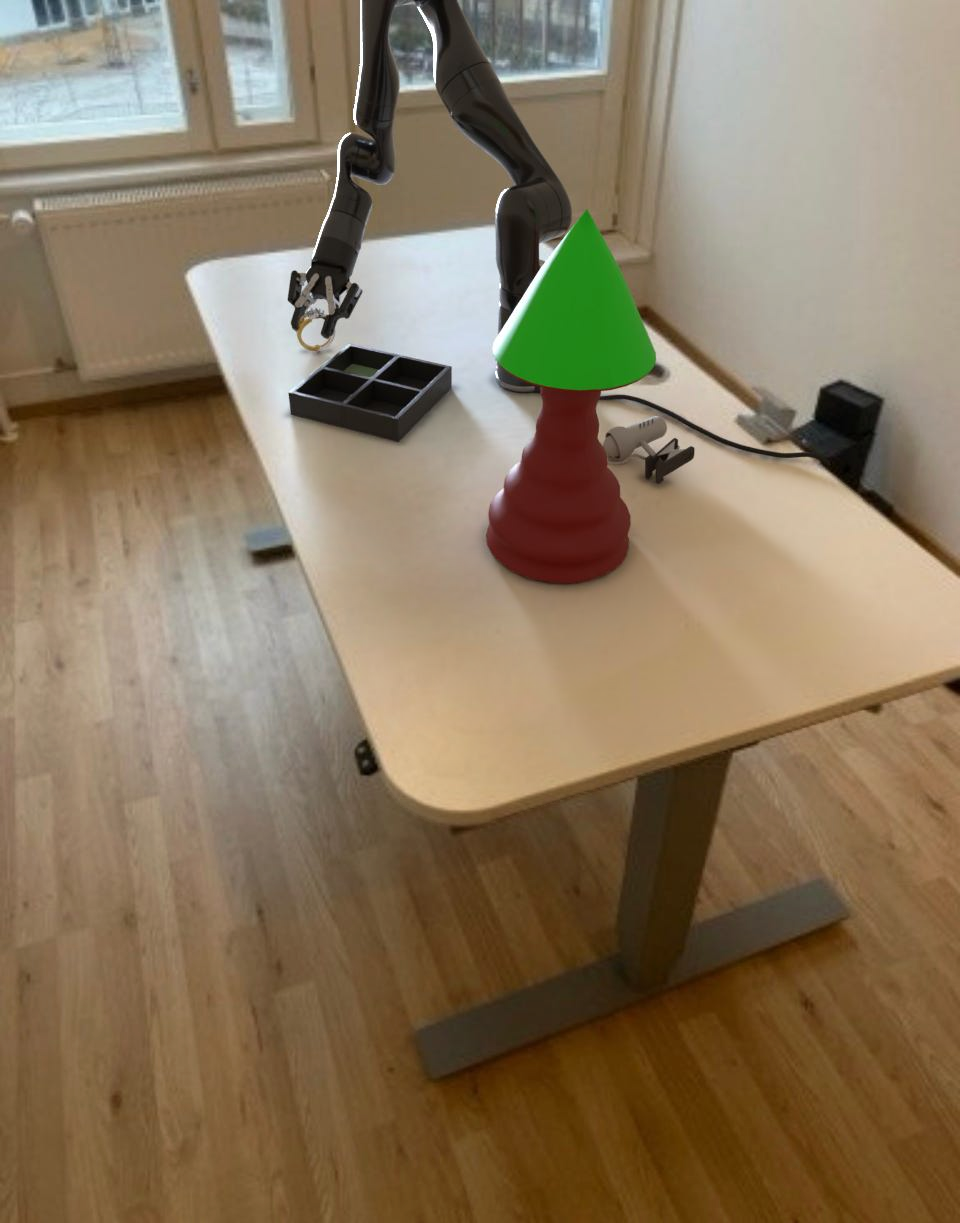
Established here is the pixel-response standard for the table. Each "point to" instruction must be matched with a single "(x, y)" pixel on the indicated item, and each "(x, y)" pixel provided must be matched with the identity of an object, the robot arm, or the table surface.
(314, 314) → the ring
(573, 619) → the table surface
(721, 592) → the table surface
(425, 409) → the organizer
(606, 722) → the table surface
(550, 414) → the table lamp
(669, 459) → the clip-on lamp
